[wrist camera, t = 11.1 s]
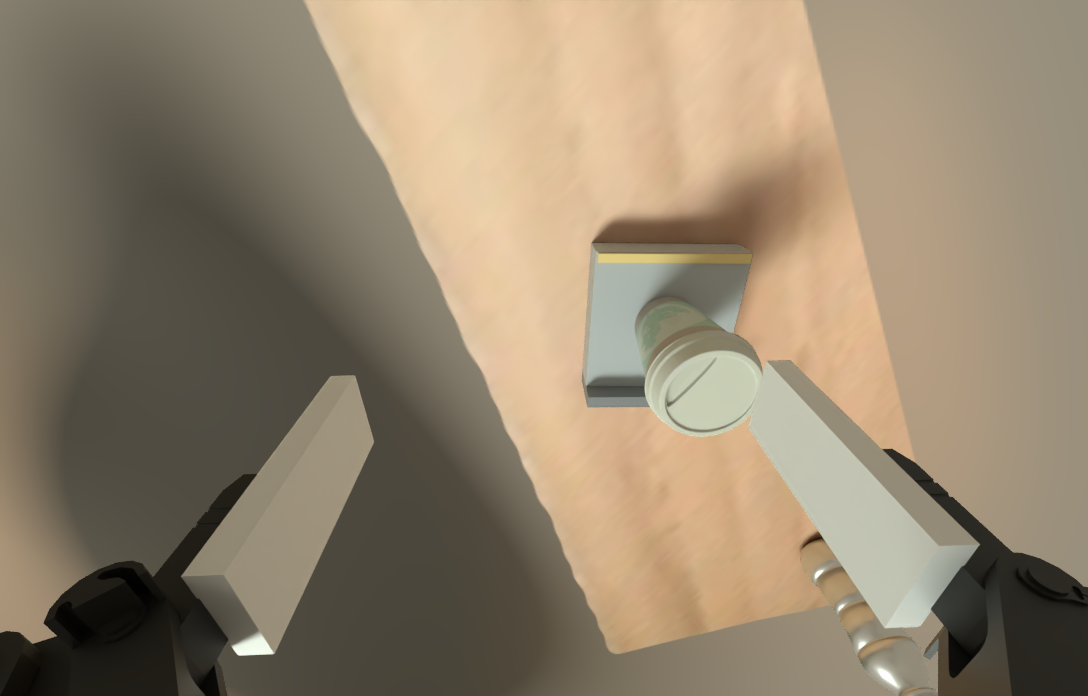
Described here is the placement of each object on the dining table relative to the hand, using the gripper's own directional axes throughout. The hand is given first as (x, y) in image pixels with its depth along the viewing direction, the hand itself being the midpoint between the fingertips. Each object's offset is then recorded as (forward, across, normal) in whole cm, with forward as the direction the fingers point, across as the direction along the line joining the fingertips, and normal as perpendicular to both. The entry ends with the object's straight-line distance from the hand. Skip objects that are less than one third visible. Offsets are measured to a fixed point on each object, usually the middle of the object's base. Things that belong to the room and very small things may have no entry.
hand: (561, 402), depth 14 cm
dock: (+28, +11, -10) cm, 32 cm away
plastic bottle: (+28, +39, -48) cm, 68 cm away
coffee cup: (+25, +11, -10) cm, 29 cm away
